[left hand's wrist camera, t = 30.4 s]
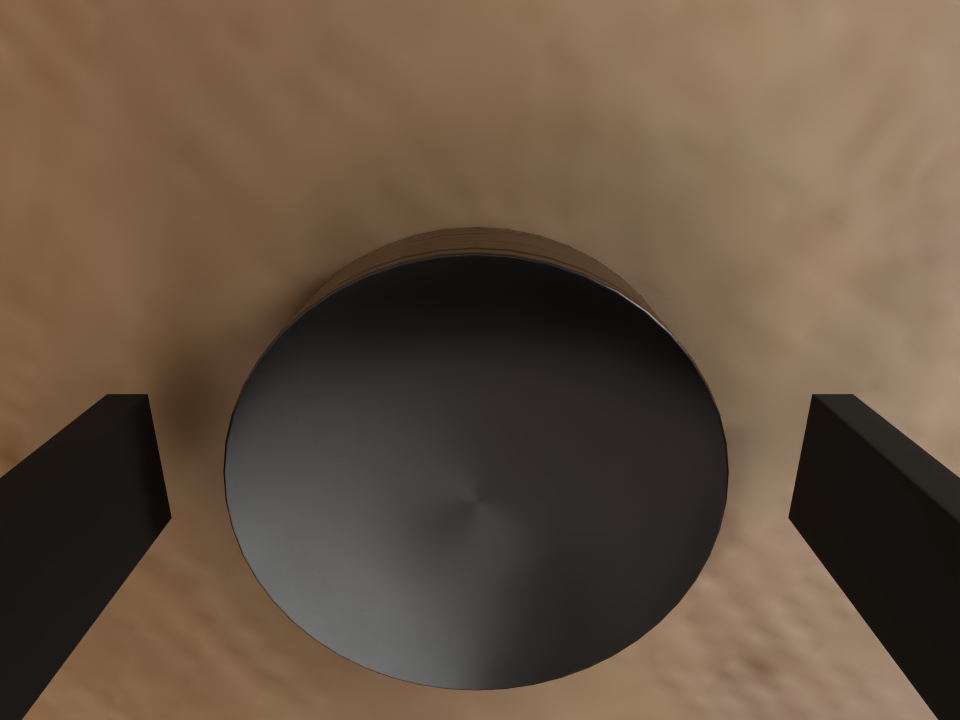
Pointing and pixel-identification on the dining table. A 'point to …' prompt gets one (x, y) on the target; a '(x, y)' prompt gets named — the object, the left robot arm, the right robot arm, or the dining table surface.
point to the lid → (476, 462)
